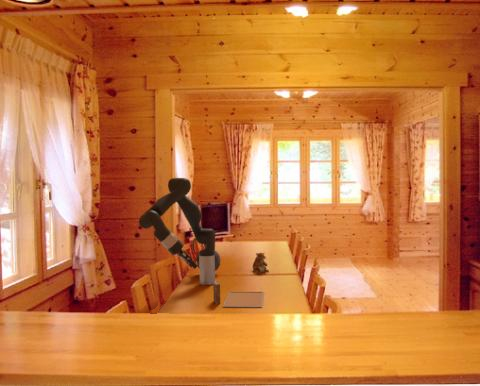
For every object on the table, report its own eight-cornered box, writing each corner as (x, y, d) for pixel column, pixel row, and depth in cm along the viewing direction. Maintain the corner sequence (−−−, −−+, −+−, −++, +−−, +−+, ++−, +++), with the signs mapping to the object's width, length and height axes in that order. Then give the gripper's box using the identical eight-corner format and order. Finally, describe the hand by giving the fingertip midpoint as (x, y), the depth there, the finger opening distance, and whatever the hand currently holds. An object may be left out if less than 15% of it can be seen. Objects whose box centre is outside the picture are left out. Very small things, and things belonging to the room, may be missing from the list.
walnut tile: (216, 304, 213) (216, 284, 212) (213, 301, 218) (213, 281, 218) (220, 303, 213) (220, 284, 213) (217, 300, 219) (217, 281, 219)
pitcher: (218, 276, 274) (217, 230, 273) (190, 276, 277) (189, 230, 277) (222, 273, 285) (221, 228, 284) (194, 272, 288) (193, 228, 287)
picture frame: (262, 308, 205) (264, 293, 233) (262, 306, 205) (264, 291, 233) (222, 308, 207) (229, 293, 235) (222, 306, 207) (229, 291, 234)
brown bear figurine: (256, 274, 279) (256, 254, 279) (248, 270, 293) (248, 251, 292) (270, 272, 283) (270, 253, 283) (261, 268, 296) (261, 250, 296)
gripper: (180, 239, 203) (203, 262, 206) (174, 237, 216) (195, 259, 219) (169, 250, 201) (192, 273, 204) (163, 247, 214) (185, 269, 217)
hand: (193, 266), depth 212 cm, fingers open, 8 cm apart
